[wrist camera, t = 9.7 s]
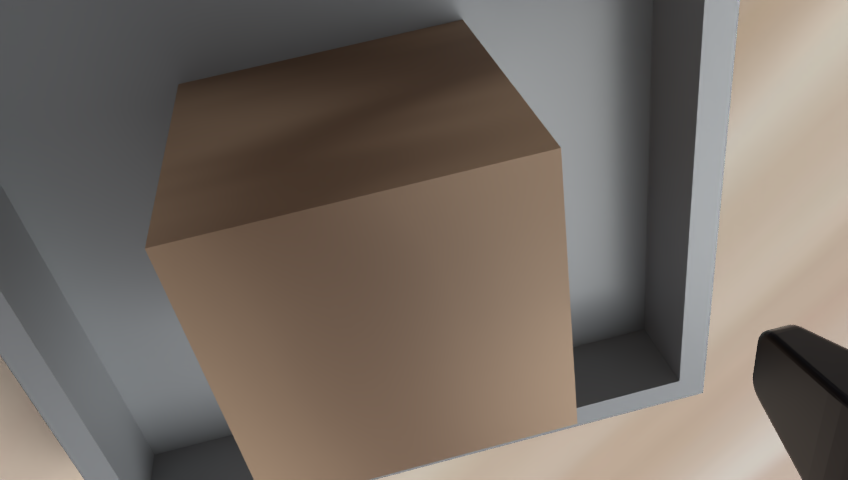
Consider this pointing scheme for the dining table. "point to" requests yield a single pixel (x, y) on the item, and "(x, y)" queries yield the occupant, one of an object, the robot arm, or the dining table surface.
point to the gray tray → (298, 36)
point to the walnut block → (369, 256)
